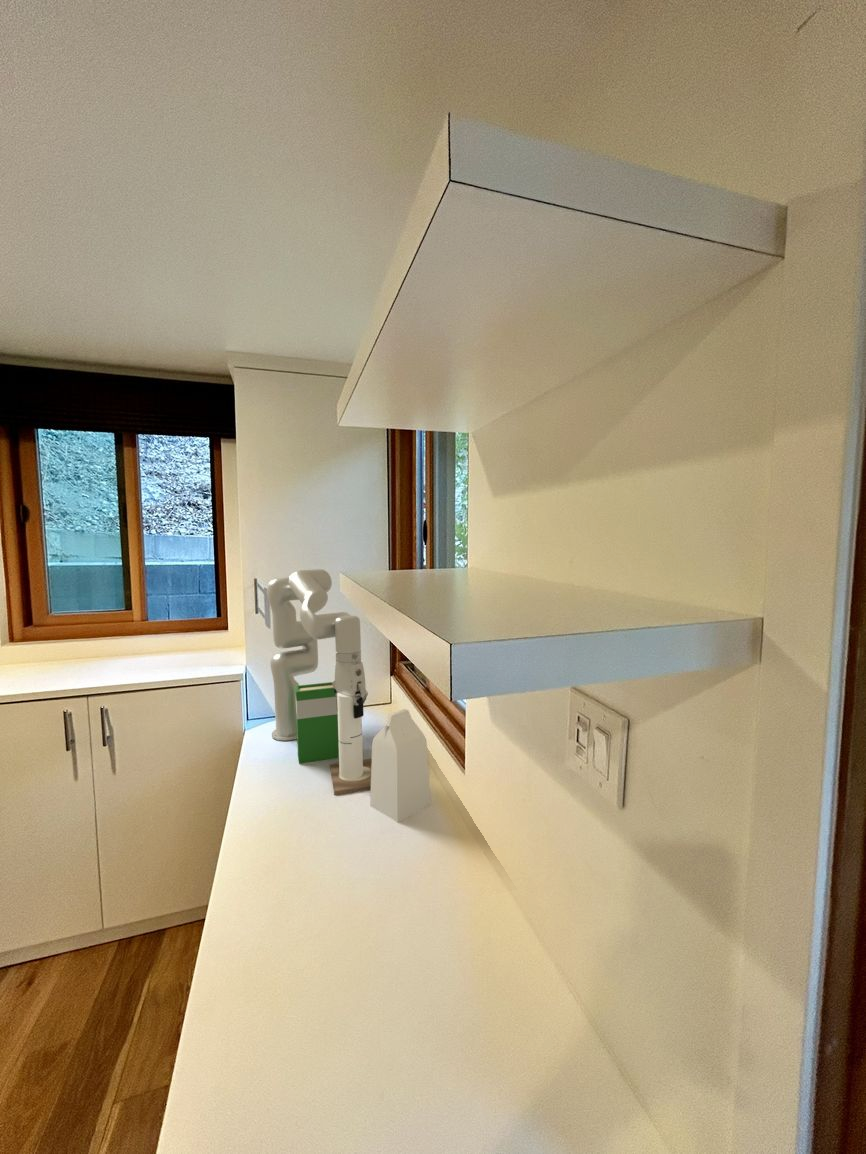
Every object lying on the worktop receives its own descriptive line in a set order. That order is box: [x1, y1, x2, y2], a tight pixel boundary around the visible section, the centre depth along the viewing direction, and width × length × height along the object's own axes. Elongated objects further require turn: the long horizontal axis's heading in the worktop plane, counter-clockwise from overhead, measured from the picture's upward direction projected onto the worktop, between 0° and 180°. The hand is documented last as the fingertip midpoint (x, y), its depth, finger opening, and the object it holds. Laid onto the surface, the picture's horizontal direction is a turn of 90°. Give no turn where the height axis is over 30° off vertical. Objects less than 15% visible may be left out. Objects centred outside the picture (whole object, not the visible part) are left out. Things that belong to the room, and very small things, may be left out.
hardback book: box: [295, 681, 339, 765], centre depth 167 cm, size 18×7×24 cm, turn 108°
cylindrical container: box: [337, 693, 364, 779], centre depth 150 cm, size 7×7×25 cm
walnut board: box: [329, 758, 372, 796], centre depth 152 cm, size 18×14×1 cm
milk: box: [369, 708, 432, 823], centre depth 134 cm, size 12×12×26 cm
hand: (350, 713), depth 150 cm, fingers open, 8 cm apart
